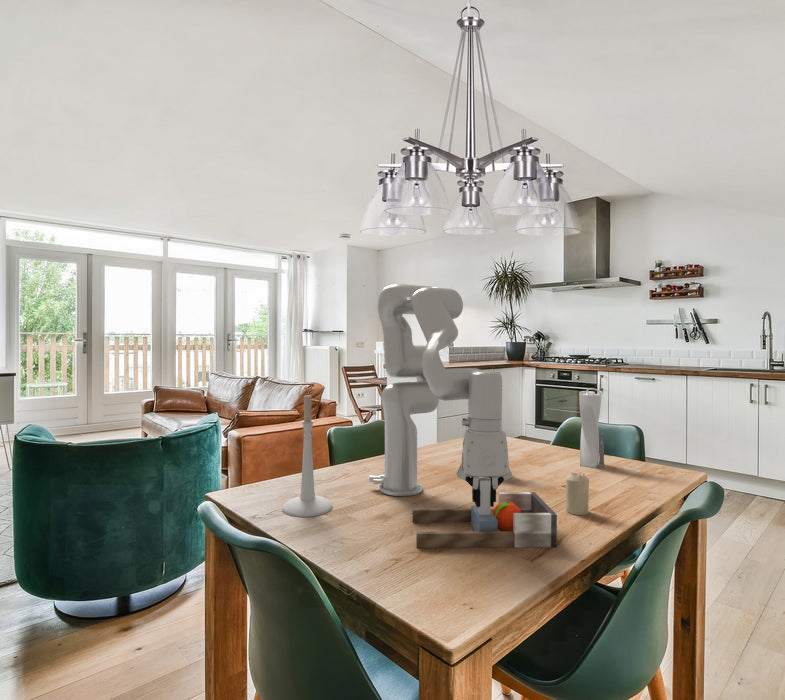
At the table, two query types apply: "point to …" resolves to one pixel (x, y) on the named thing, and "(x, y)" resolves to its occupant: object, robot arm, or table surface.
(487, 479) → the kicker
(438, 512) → the frame
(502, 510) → the clementine
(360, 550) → the table surface
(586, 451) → the skyscraper
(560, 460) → the table surface
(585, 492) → the candle
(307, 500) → the candlestick
